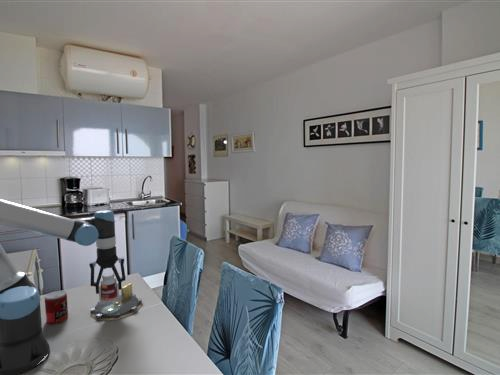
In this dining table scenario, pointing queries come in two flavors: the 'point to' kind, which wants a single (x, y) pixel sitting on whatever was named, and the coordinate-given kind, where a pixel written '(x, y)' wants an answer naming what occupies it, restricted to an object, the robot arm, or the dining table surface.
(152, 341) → the dining table surface
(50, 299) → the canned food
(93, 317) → the base
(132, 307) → the sprocket
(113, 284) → the pill bottle
